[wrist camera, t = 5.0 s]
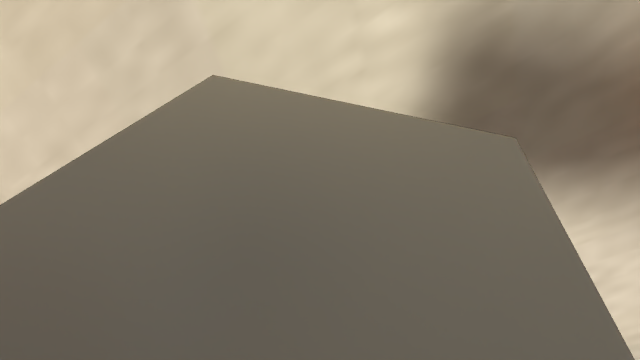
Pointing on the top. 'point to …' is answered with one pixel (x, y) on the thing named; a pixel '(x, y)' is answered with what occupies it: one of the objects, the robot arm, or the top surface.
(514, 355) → the grey upright block
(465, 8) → the top surface
